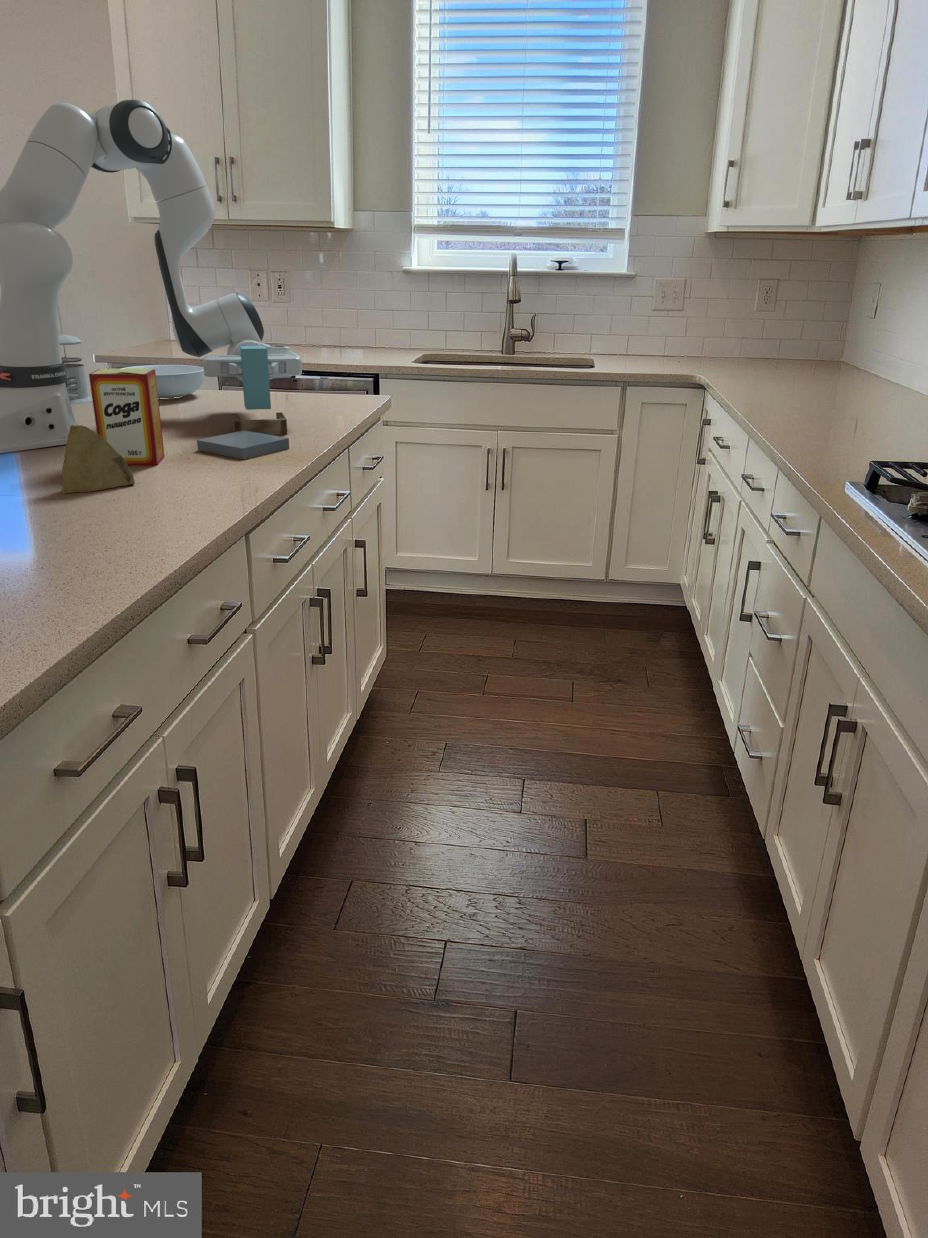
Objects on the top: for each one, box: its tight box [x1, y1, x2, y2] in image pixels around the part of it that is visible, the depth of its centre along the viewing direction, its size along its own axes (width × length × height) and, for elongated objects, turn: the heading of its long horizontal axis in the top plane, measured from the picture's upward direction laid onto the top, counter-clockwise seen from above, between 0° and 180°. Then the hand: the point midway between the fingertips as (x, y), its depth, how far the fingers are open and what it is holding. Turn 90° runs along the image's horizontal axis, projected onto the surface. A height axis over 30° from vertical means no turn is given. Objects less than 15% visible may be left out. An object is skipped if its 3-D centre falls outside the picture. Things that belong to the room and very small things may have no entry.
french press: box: [57, 293, 93, 405], centre depth 214 cm, size 10×12×25 cm
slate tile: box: [196, 430, 290, 460], centre depth 172 cm, size 12×12×2 cm
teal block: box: [240, 346, 272, 411], centre depth 186 cm, size 5×5×12 cm
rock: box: [61, 424, 136, 495], centre depth 143 cm, size 11×9×10 cm
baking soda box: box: [88, 367, 165, 467], centre depth 159 cm, size 10×6×16 cm
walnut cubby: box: [231, 411, 288, 436], centre depth 188 cm, size 10×9×3 cm
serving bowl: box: [120, 364, 206, 399], centre depth 225 cm, size 21×21×7 cm
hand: (255, 370), depth 184 cm, fingers closed on teal block, 5 cm apart
